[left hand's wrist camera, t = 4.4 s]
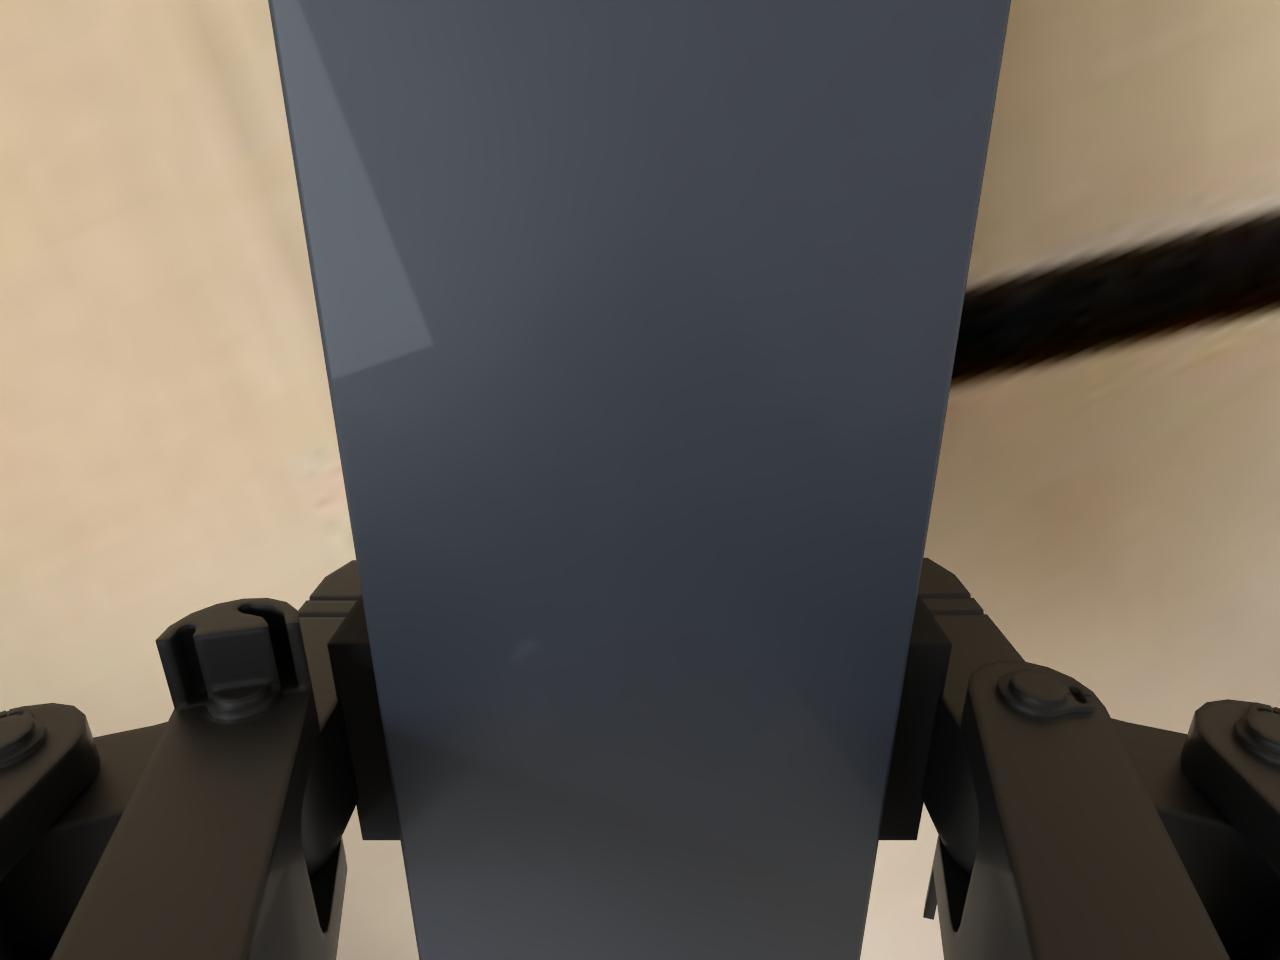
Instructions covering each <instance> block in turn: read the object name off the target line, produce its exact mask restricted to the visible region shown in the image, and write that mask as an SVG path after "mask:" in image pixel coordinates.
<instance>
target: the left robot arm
mask: <svg viewBox="0 0 1280 960" xmlns="http://www.w3.org/2000/svg"><path fill="white" fill-rule="evenodd" d="M156 644H157V648H158V651H159V655H160V658H161V662H162V665H163V669H164V672H165V676H166V679H167V683H168V686H169V690H170V694H171V697H172V701H173V704H174V708H175V709H174V711H173V713H172V715H171V717H170V719H169V721H168V722H165V723H162V724H158V725H154V726H149V727H144V728H139V729H134V730H129V731H124V732H119V733H114V734H110V735H105V736H100V737H95V738H93V737H92V734H91V731H90V728H89V725H88V722H87V719H86V716H85V714H83V713H82V712H81V711H80V710H78V709H77V708H76V707H74V706H71V705H63V704H56V703H49V704H41V705H32V706H23V707H19V708H14V709H10V711H7V712H6V711H3V712H0V960H336V955H337V947H338V939H339V931H340V923H341V915H342V907H343V899H344V891H345V883H346V875H347V864H346V857H345V851H344V845H343V840H342V835H343V832H344V830H345V828H346V826H347V824H348V821H349V819H350V817H351V815H352V813H353V811H354V808H355V806H356V805H357V811H358V816H359V822H360V827H361V833H362V838H363V840H401V839H400V833H399V826H398V820H397V814H396V807H395V801H394V795H393V788H392V782H391V776H390V769H389V763H388V757H387V750H386V744H385V738H384V731H383V725H382V719H381V712H380V706H379V700H378V693H377V687H376V681H375V674H374V668H373V661H372V655H371V649H370V642H369V636H368V630H367V623H366V617H365V611H364V604H363V598H362V592H361V585H360V579H359V573H358V566H357V560H352V561H351V562H349V563H348V564H346V565H344V566H343V567H341V568H339V569H338V570H336V571H335V572H333V573H331V574H330V575H328V576H326V577H325V578H324V579H323V581H322V582H321V583H320V584H319V586H318V587H317V588H316V589H315V591H314V592H313V593H312V594H311V596H310V600H309V601H306V602H305V603H304V604H303V606H302V607H301V608H300V609H299V611H297V610H296V609H295V608H294V607H292V606H291V605H290V604H288V603H287V602H284V601H279V600H274V599H270V598H253V599H240V600H235V601H230V602H225V603H220V604H216V605H213V606H210V607H208V608H205V609H202V610H200V611H197V612H194V613H191V614H190V615H188V616H186V617H184V618H183V619H181V620H179V621H178V622H176V623H174V624H173V625H171V626H169V627H168V628H167V629H166V630H165V631H164V632H163V633H162V634H161V636H160V637H159V638H158V639H157V640H156ZM923 802H924V804H925V806H926V808H927V810H928V812H929V814H930V817H931V819H932V821H933V823H934V825H935V827H936V830H937V832H938V834H939V835H938V840H937V845H936V851H935V856H934V861H933V866H932V871H931V876H930V881H929V886H928V891H927V896H926V902H925V909H924V916H923V917H924V918H929V919H933V920H934V915H935V910H936V905H938V913H939V921H940V929H941V937H942V945H943V953H944V960H1280V708H1277V707H1275V708H1272V707H1271V706H1269V705H1265V704H1260V703H1254V702H1245V701H1236V700H1221V701H1213V702H1207V703H1205V704H1204V705H1203V706H1201V707H1200V708H1199V709H1198V710H1196V711H1195V714H1194V717H1193V720H1192V723H1191V726H1190V729H1189V732H1188V735H1187V734H1182V733H1177V732H1172V731H1167V730H1162V729H1157V728H1152V727H1147V726H1142V725H1137V724H1132V723H1127V722H1123V721H1120V720H1116V719H1112V718H1110V716H1109V714H1108V712H1107V710H1106V708H1105V706H1104V705H1103V704H1102V703H1101V701H1100V700H1099V699H1098V698H1097V696H1096V695H1095V694H1094V693H1093V692H1092V691H1091V690H1089V689H1088V688H1086V687H1085V686H1084V685H1082V684H1081V683H1079V682H1078V681H1076V680H1075V679H1073V678H1072V677H1069V676H1067V675H1065V674H1062V673H1060V672H1058V671H1055V670H1053V669H1051V668H1048V667H1045V666H1040V665H1036V664H1032V663H1028V662H1025V661H1024V660H1023V658H1022V657H1021V656H1020V655H1019V653H1018V652H1017V651H1016V650H1015V648H1014V647H1013V646H1012V645H1011V644H1010V642H1009V641H1008V640H1007V639H1006V637H1005V636H1004V635H1003V634H1002V632H1001V631H1000V630H999V629H998V628H997V626H996V625H995V624H994V623H993V621H992V620H991V619H990V618H989V616H988V615H987V614H984V613H983V609H982V608H981V607H980V605H979V604H978V603H977V602H976V600H975V599H974V598H971V597H970V593H969V592H968V591H967V589H966V588H965V587H964V586H963V584H962V583H961V582H960V581H959V579H958V578H957V577H956V576H955V575H954V574H953V573H951V572H949V571H948V570H946V569H945V568H943V567H941V566H940V565H938V564H936V563H935V562H933V561H931V560H930V559H928V558H923V562H922V568H921V574H920V581H919V587H918V593H917V600H916V606H915V612H914V619H913V625H912V631H911V638H910V644H909V651H908V657H907V663H906V670H905V676H904V682H903V689H902V695H901V701H900V708H899V714H898V720H897V727H896V733H895V739H894V746H893V752H892V758H891V765H890V771H889V777H888V784H887V790H886V796H885V803H884V809H883V815H882V822H881V828H880V835H879V840H917V835H918V830H919V824H920V819H921V813H922V808H923Z"/></svg>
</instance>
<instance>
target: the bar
mask: <svg viewBox="0 0 1280 960" xmlns="http://www.w3.org/2000/svg"><path fill="white" fill-rule="evenodd" d="M268 2H269V8H270V14H271V21H272V27H273V33H274V40H275V46H276V52H277V59H278V65H279V71H280V78H281V84H282V90H283V97H284V103H285V109H286V116H287V122H288V129H289V135H290V141H291V148H292V154H293V160H294V167H295V173H296V179H297V186H298V192H299V198H300V205H301V211H302V217H303V224H304V230H305V236H306V243H307V249H308V255H309V262H310V268H311V274H312V281H313V287H314V293H315V300H316V306H317V313H318V319H319V325H320V332H321V338H322V344H323V351H324V357H325V363H326V370H327V376H328V382H329V389H330V395H331V401H332V408H333V414H334V420H335V427H336V433H337V439H338V446H339V452H340V458H341V465H342V471H343V477H344V484H345V490H346V497H347V503H348V509H349V516H350V522H351V528H352V535H353V541H354V547H355V554H356V560H357V566H358V573H359V579H360V585H361V592H362V598H363V604H364V611H365V617H366V623H367V630H368V636H369V642H370V649H371V655H372V661H373V668H374V674H375V681H376V687H377V693H378V700H379V706H380V712H381V719H382V725H383V731H384V738H385V744H386V750H387V757H388V763H389V769H390V776H391V782H392V788H393V795H394V801H395V807H396V814H397V820H398V826H399V833H400V839H401V845H402V852H403V858H404V865H405V871H406V877H407V884H408V890H409V896H410V903H411V909H412V915H413V922H414V928H415V934H416V941H417V947H418V953H419V960H860V955H861V949H862V942H863V936H864V930H865V923H866V917H867V911H868V904H869V898H870V892H871V885H872V879H873V873H874V866H875V860H876V854H877V847H878V841H879V835H880V828H881V822H882V815H883V809H884V803H885V796H886V790H887V784H888V777H889V771H890V765H891V758H892V752H893V746H894V739H895V733H896V727H897V720H898V714H899V708H900V701H901V695H902V689H903V682H904V676H905V670H906V663H907V657H908V651H909V644H910V638H911V631H912V625H913V619H914V612H915V606H916V600H917V593H918V587H919V581H920V574H921V568H922V562H923V555H924V549H925V543H926V536H927V530H928V524H929V517H930V511H931V505H932V498H933V492H934V486H935V479H936V473H937V467H938V460H939V454H940V447H941V441H942V435H943V428H944V422H945V416H946V409H947V403H948V397H949V390H950V384H951V378H952V371H953V365H954V359H955V352H956V346H957V340H958V333H959V327H960V321H961V314H962V308H963V302H964V295H965V289H966V283H967V276H968V270H969V264H970V257H971V251H972V244H973V238H974V232H975V225H976V219H977V213H978V206H979V200H980V194H981V187H982V181H983V175H984V168H985V162H986V156H987V149H988V143H989V137H990V130H991V124H992V118H993V111H994V105H995V99H996V92H997V86H998V80H999V73H1000V67H1001V60H1002V54H1003V48H1004V41H1005V35H1006V29H1007V22H1008V16H1009V10H1010V3H1011V0H268Z"/></svg>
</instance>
